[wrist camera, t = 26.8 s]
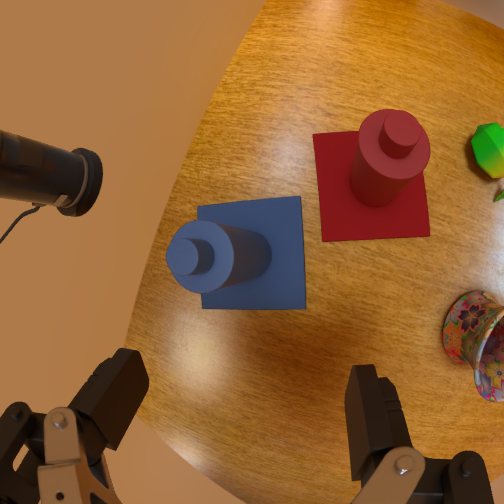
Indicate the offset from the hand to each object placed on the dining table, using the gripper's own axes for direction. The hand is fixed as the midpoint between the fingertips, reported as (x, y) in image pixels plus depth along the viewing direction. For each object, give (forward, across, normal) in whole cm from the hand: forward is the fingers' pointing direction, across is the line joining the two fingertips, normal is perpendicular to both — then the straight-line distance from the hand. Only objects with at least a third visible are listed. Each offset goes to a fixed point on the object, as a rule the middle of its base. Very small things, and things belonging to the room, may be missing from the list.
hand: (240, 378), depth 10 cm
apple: (+22, -26, -8) cm, 35 cm away
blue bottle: (+22, +3, +4) cm, 22 cm away
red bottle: (+23, -10, -4) cm, 25 cm away
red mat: (+23, -11, -4) cm, 26 cm away
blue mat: (+22, +3, +4) cm, 23 cm away
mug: (+16, -24, +10) cm, 31 cm away
